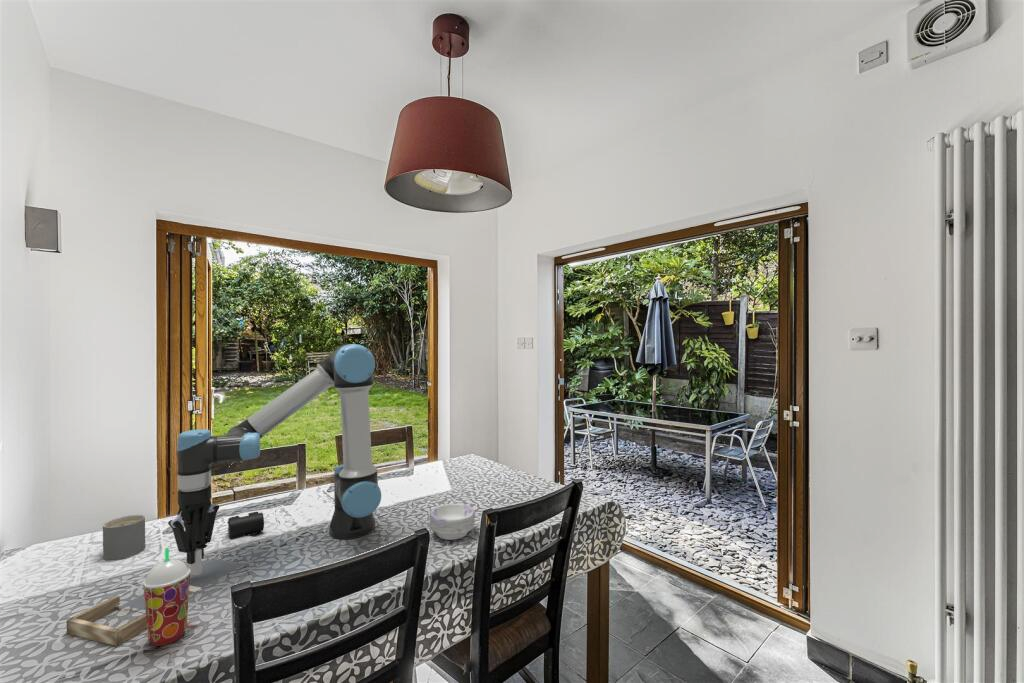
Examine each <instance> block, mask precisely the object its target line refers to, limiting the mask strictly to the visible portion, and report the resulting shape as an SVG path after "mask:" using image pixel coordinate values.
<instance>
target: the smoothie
mask: <svg viewBox="0 0 1024 683" xmlns="http://www.w3.org/2000/svg"><path fill="white" fill-rule="evenodd" d="M169 548H170V547H165V548H164V560H161V561H160V562H158V563H157V564H154V566H153V567H152V568H150V570H149V572H148V573H147V575H146V576H145V578H144V580H143V581H142V586H143V594H144V596H145V607H146V610H145V613H146V618H147V629H146V630H147V638H148V639H147V640H148V641H149V642H150V643H151V645H152V646H156V647H159V646H160V647H163V646H166V645H169V643H170V644H171V643H174V642H176V641H178V639H180V638H182V636H183V635H184V633H185V630H186V629H187V627H188V613H189V598H190V597H189V596H190V595H189V583H190V572H191V571H190V569H189V566H188V565H187V563H185V562H184V561H183V560H181V559H179V558H170V549H169ZM162 645H163V646H162Z"/></svg>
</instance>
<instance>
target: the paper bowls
mask: <svg viewBox="0 0 1024 683" xmlns="http://www.w3.org/2000/svg"><path fill="white" fill-rule="evenodd" d="M475 511H476V510H475V509H474V508H473V507H472V506H470V505H467V504H465V503H464V504H463V503H445V504H441V505H438V506H435V507H433V508H432V509H431V510H430V512H429V527H430V530H431V531H432V532H434V533H436V535H437V537H439V538H440V539H442V540H446V541H455V540H460V539H462V538H464V537H465V536H467V534H468V533H469V532H470V531H471V530H473V529H474V527H475V524H476V523H475V522H476V512H475Z"/></svg>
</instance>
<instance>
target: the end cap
mask: <svg viewBox="0 0 1024 683" xmlns="http://www.w3.org/2000/svg"><path fill="white" fill-rule="evenodd" d="M227 526H228V528H227V531H228V539H234V538H239V537H242V536H246V537H248V536H252V535H255V534H259V533H262V532H263V530H264V529H265V517H264V514H263V512H259V511H253V512H249V513H248V514H247V515H245V516H240V515H235V516H230V517H229V518H228V520H227Z"/></svg>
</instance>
